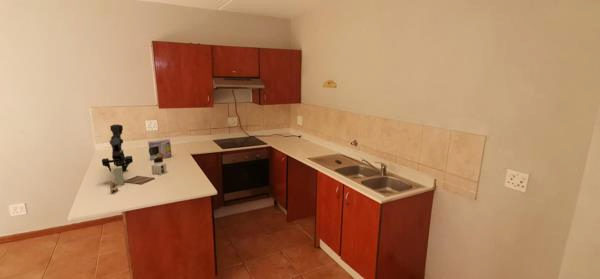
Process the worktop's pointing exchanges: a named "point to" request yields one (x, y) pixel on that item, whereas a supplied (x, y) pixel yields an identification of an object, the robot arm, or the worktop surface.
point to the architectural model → (113, 186)
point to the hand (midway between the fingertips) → (118, 170)
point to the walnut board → (139, 180)
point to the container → (158, 166)
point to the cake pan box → (160, 148)
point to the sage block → (118, 175)
